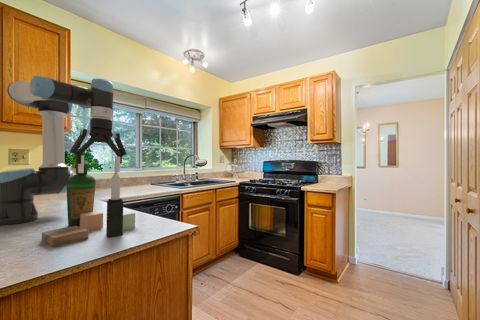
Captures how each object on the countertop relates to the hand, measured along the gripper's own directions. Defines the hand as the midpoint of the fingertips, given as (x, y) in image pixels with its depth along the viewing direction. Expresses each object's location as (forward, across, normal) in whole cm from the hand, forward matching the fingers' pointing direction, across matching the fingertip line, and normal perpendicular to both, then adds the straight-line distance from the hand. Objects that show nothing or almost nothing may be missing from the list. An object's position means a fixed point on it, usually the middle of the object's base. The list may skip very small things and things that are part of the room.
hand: (100, 172), depth 89 cm
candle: (+23, +1, -10) cm, 25 cm away
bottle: (+24, 0, +15) cm, 28 cm away
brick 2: (+23, +8, -4) cm, 25 cm away
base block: (+23, -12, -2) cm, 26 cm away
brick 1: (+23, 0, +6) cm, 24 cm away
